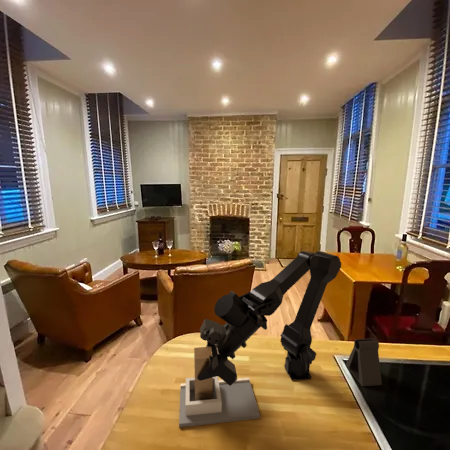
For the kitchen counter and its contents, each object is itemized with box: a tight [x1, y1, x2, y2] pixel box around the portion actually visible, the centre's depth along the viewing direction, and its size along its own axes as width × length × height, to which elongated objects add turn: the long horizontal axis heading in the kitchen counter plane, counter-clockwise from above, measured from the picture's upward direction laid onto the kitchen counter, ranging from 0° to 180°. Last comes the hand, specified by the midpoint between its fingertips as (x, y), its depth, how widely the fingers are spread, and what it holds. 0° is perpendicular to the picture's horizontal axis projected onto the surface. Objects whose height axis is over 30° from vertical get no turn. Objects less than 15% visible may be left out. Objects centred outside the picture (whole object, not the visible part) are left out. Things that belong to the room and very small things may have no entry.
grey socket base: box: [178, 376, 261, 428], centre depth 69 cm, size 20×12×4 cm, turn 98°
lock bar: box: [193, 346, 213, 401], centre depth 68 cm, size 4×4×12 cm
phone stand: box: [345, 337, 383, 387], centre depth 79 cm, size 9×6×12 cm, turn 5°
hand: (198, 372), depth 68 cm, fingers closed on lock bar, 4 cm apart
